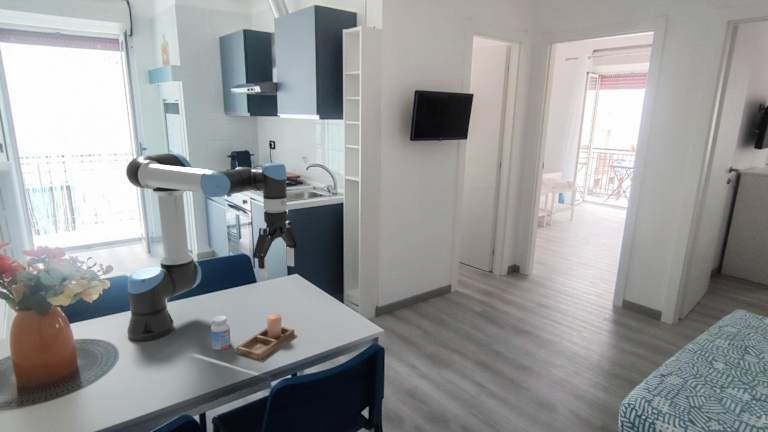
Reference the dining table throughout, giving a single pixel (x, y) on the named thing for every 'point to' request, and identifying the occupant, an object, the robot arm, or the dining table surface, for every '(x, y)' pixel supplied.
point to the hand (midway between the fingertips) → (277, 271)
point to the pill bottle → (220, 333)
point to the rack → (264, 344)
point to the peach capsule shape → (274, 326)
